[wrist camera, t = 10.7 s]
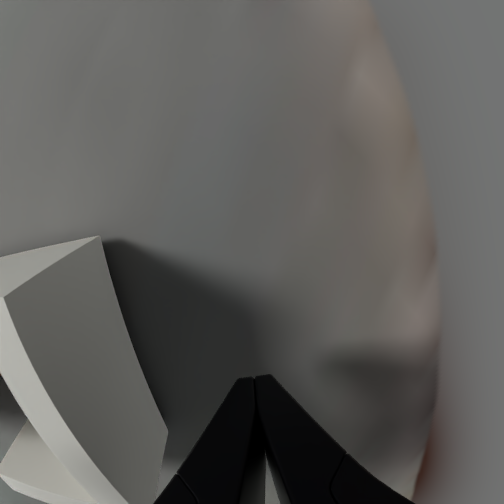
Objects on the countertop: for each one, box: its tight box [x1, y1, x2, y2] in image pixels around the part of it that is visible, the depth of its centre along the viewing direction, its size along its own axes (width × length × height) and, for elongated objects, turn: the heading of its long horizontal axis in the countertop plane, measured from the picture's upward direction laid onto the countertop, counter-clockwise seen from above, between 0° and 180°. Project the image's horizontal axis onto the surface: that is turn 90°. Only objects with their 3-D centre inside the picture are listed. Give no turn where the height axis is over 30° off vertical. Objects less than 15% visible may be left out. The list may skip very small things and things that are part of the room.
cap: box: [0, 235, 168, 504], centre depth 7 cm, size 8×6×4 cm
